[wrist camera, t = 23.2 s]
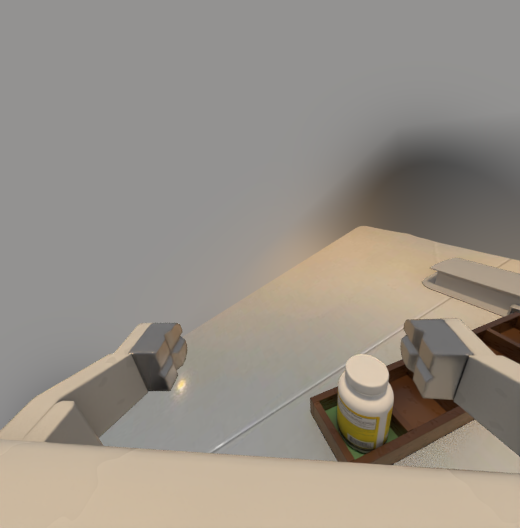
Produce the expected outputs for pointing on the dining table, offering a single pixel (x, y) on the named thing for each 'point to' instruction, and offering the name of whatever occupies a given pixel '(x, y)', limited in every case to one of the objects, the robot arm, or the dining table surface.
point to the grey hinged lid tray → (477, 285)
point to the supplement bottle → (364, 403)
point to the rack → (413, 405)
